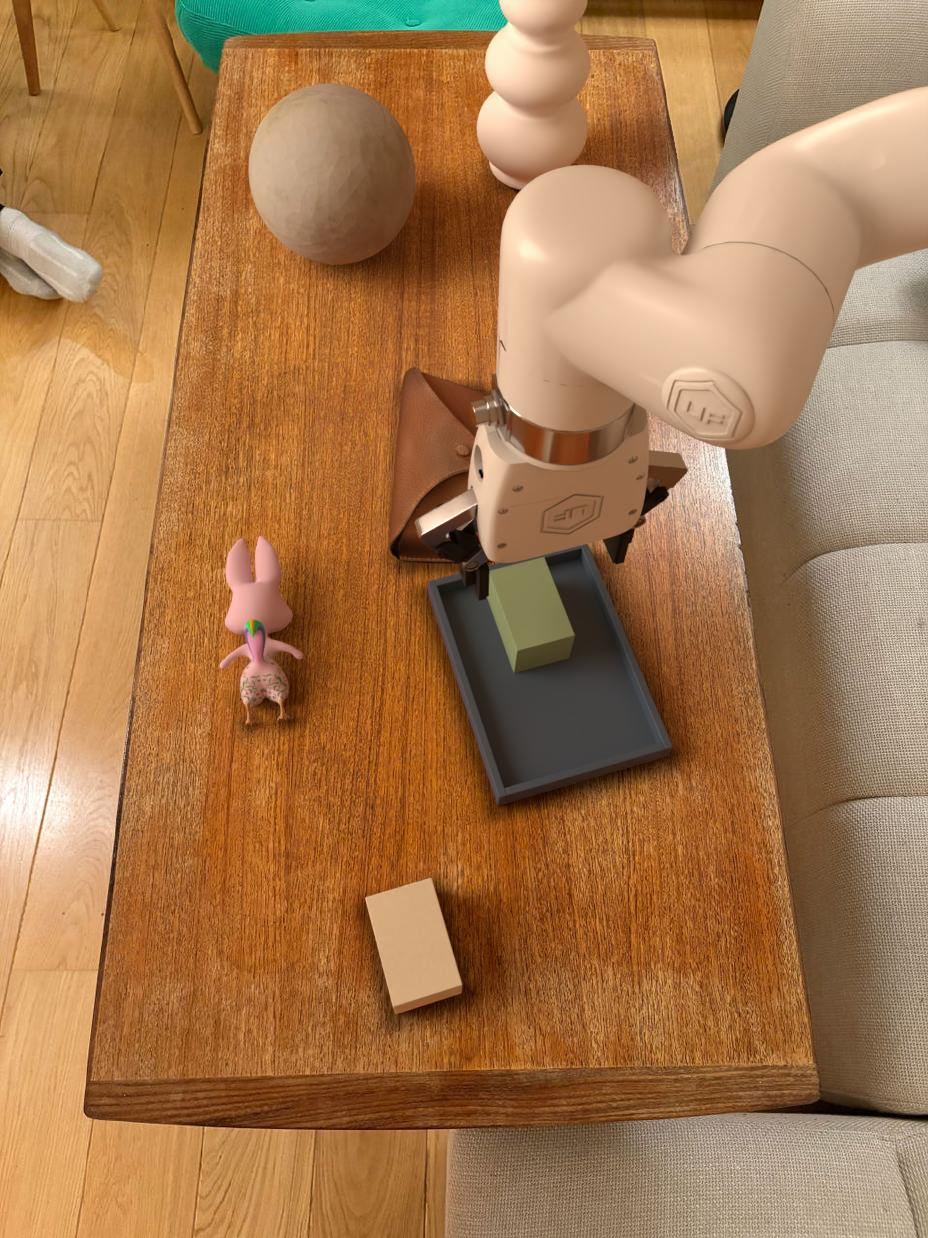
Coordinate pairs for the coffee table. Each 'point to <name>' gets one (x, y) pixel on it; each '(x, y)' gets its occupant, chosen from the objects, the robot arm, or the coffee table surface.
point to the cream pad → (414, 945)
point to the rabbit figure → (258, 623)
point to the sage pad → (530, 615)
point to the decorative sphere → (332, 174)
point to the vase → (535, 91)
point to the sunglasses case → (429, 457)
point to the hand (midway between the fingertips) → (544, 564)
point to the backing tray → (551, 687)
